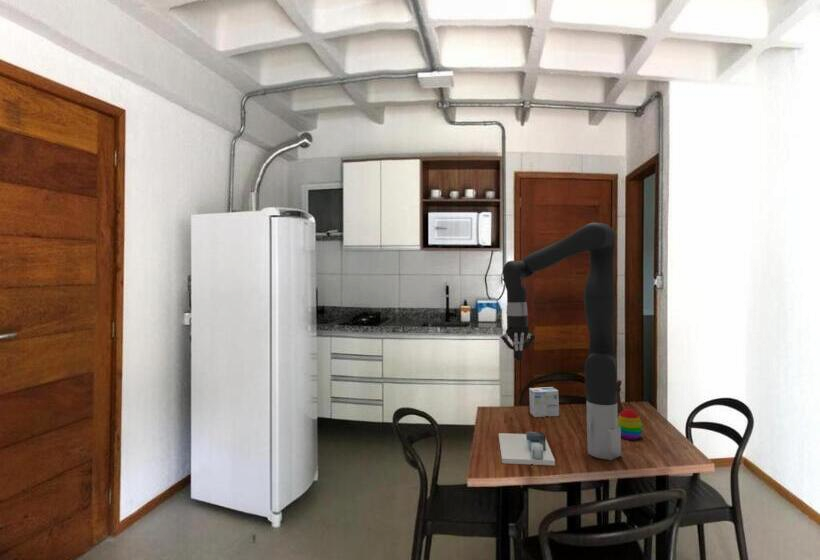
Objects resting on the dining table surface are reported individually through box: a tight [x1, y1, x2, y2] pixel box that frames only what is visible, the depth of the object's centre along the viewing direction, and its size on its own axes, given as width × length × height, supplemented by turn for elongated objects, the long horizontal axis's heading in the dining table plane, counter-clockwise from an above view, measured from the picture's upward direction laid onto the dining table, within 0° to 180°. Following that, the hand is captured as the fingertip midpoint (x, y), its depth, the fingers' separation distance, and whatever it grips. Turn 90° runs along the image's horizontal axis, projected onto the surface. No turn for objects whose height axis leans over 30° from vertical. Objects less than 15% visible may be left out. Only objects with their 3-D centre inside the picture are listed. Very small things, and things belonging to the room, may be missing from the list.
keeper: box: [525, 431, 547, 451], centre depth 144 cm, size 3×6×5 cm, turn 81°
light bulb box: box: [528, 386, 560, 418], centre depth 183 cm, size 11×7×11 cm, turn 94°
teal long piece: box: [528, 431, 543, 459], centre depth 144 cm, size 16×4×4 cm, turn 171°
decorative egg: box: [618, 408, 643, 441], centre depth 156 cm, size 8×8×10 cm
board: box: [498, 432, 556, 466], centre depth 147 cm, size 22×16×2 cm
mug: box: [616, 379, 625, 416], centre depth 184 cm, size 18×12×15 cm, turn 17°
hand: (518, 360), depth 163 cm, fingers closed
